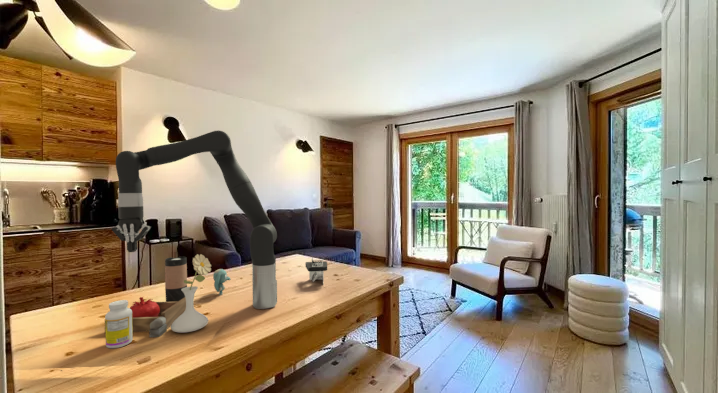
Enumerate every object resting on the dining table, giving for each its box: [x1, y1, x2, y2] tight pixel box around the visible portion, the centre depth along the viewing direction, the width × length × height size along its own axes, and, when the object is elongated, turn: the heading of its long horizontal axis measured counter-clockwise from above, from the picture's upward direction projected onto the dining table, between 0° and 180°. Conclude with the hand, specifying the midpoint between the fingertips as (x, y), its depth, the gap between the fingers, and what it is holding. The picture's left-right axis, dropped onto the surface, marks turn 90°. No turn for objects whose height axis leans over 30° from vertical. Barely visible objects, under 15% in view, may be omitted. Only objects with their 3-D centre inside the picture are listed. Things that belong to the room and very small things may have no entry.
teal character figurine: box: [212, 268, 231, 296], centre depth 142 cm, size 11×7×12 cm
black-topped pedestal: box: [305, 256, 328, 286], centre depth 158 cm, size 28×26×13 cm
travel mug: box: [164, 256, 188, 302], centre depth 127 cm, size 8×8×20 cm
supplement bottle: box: [104, 299, 134, 349], centre depth 96 cm, size 7×7×13 cm
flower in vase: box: [170, 253, 212, 333], centre depth 108 cm, size 13×11×25 cm
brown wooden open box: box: [132, 297, 186, 338], centre depth 111 cm, size 20×21×6 cm
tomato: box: [129, 296, 160, 318], centre depth 113 cm, size 10×10×9 cm
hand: (132, 251), depth 117 cm, fingers closed
